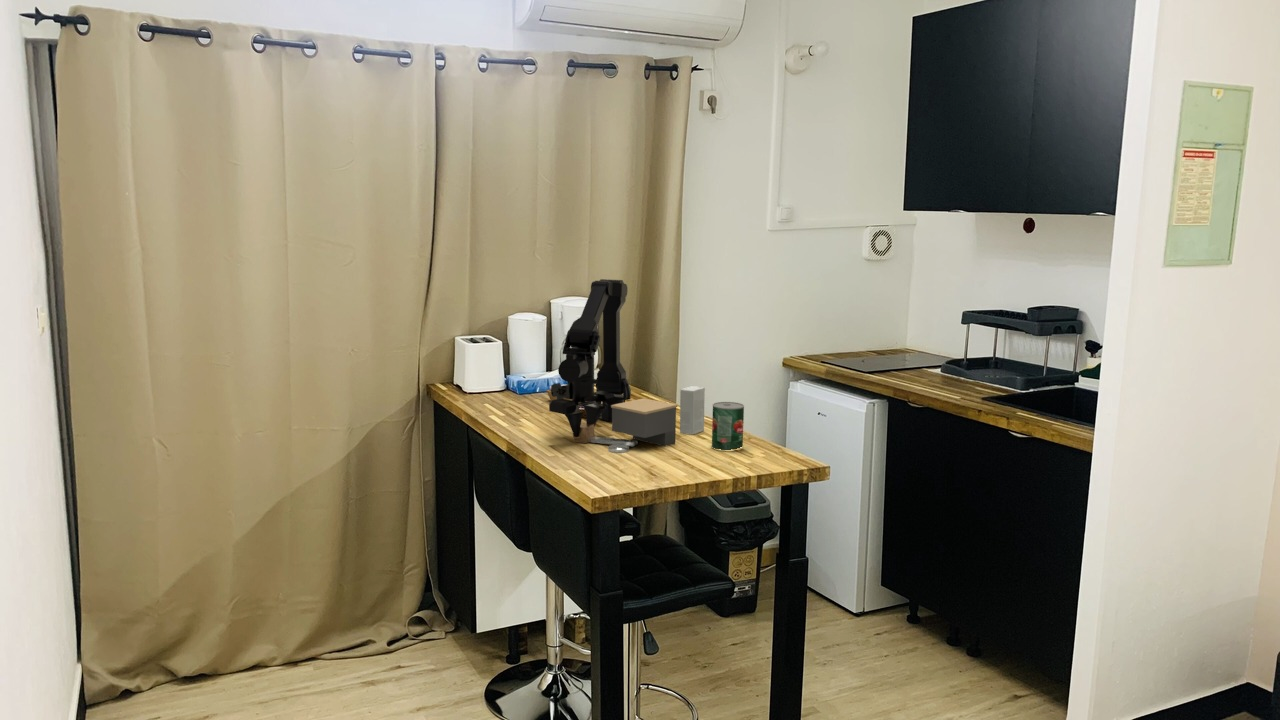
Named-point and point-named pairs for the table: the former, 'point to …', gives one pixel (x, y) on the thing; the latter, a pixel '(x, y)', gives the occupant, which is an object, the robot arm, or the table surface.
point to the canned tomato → (727, 425)
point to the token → (618, 448)
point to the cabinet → (646, 420)
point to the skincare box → (692, 410)
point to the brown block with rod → (589, 436)
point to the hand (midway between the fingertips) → (582, 435)
